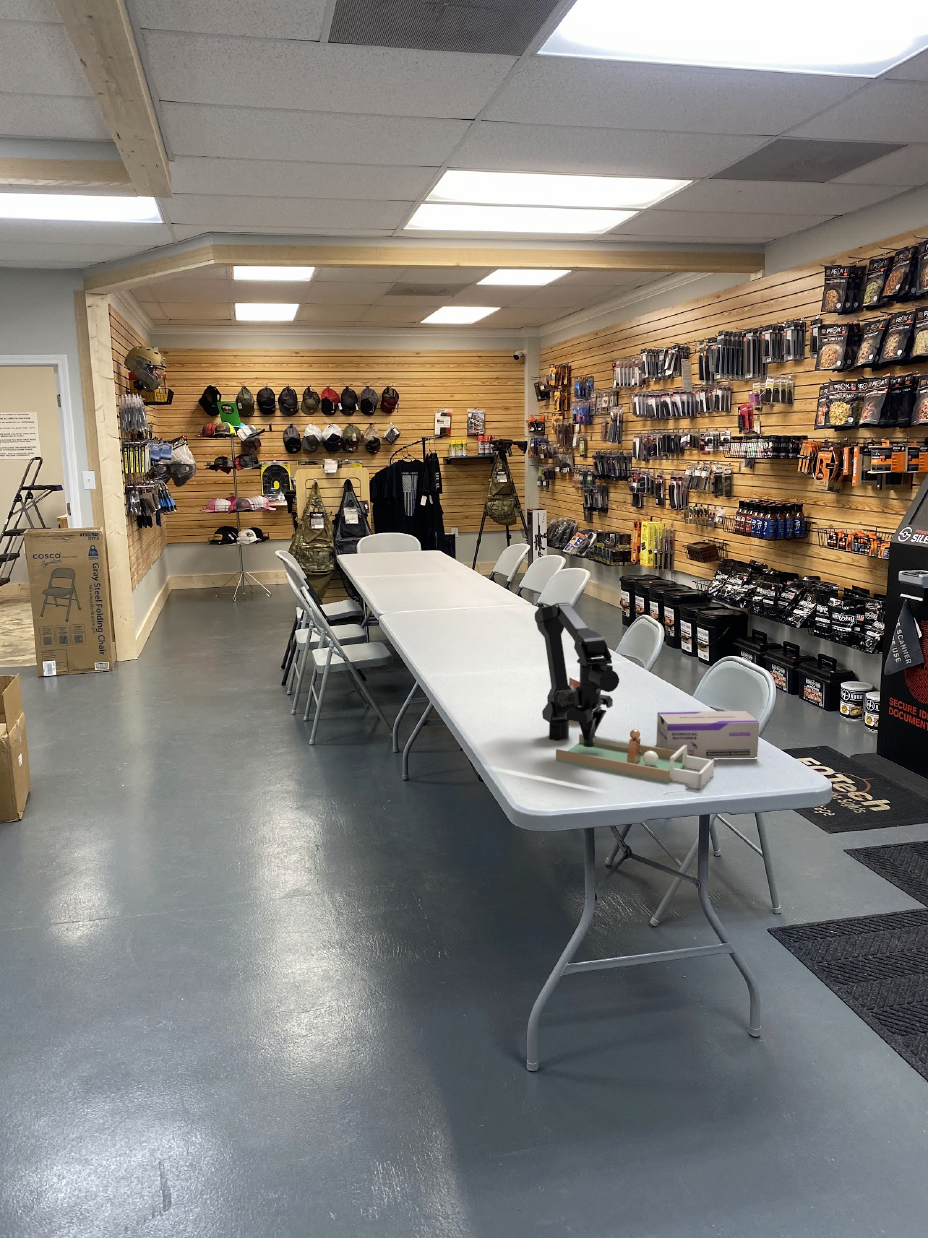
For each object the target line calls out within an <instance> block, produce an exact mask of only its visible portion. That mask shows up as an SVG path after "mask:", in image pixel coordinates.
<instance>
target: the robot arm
mask: <svg viewBox="0 0 928 1238" xmlns="http://www.w3.org/2000/svg"><path fill="white" fill-rule="evenodd" d="M534 621H535V623H536V626H537V627H536V628H537V631H539V633H540V634H541V635H542V637H543V638H544V642H545V643H544V644H545V649H546V657H547V665H548V670H549V671H548V672H549V677H550V678H549V679H550V680H549V681H550V686H551V687H550V690H549V692H548V694H547V697H546V698H547V703H546V705H545V706H544V707H543V709H542V712H541V713H542V719H544V720H545V721H547V722H548V723H549V724H548V725H549V727H548V729H549V731H548V735H549V737H548V738H549V740H551V741H563V740H568V739H569V737H570V721H572V722H578V725H579V727H580V730H581V734H583V738H584V740H588V739H589V737H590V734H591V732H592V729H593V726H594V723H595V733H596V732H597V730H598V729H599V726H600V724H601V722H602V720H603V719H604V716H605V714H606V713H607V710H605V709H602V705H604V706H606V708H607V709H610V708H611V707H613V705H614V704H613V703H614V701H613V698H612V697H611V696H610V695H607V694H601V692H606V693H611V692H613V691H615V690H616V689H617V688H618V686H619V684H620V677H619V674H618V673H617V671H615V670H614V668H613V667H614V666H613V665H611V664H613V661H612V655H611V653H610V650H609V648H608V647H609V646H608V645H607V642H606V639H605V638H604V637H603V636H602V635H601V634H600V633H599V632H597V631H594V630H593V629H590V628H588V626H587V625H586V623H585V622H584V621H583V620H582V618H581V617H580V616H579V615H578V613H577V612H576V611H575V609H574V607H573V604H572V603H570V602H557V603H555V604H552V605H549V606H540V607H538V608H537V610H536V611H535V612H534ZM564 629H565V630H566V631H567V633H568V634H569V636H570V637H571V638H572V639H573V641H574V647H573V649H574V651H575V653H576V655H577V656H578V659H577V660H576V663H577V664H579V676H580V683H579V686H577V687H576V690H572V689H571V688H570V686H569V681H568V680H569V679H568V675H567V668H566V659H565V652H564V646H563V639H562V634H563V632H564ZM579 706H581V707H579Z"/></svg>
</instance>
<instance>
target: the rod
mask: <svg viewBox="0 0 928 1238" xmlns="http://www.w3.org/2000/svg"><path fill="white" fill-rule="evenodd" d="M640 736H641V732H640V730H638V729H632V730H631V731H630V733H629V737H630V739H628V741H625V740H619V739H613V738H608V737H602V736H596V732H595V723H594V726H593V729H592V732H591V734H590V737H589V739H588V740H584V738H583V746H584V747H594V746H595V743H599V744H604V745H610V746H616V747H621V748H627V749H629V754H628V755H627V762H628V763H633V764H636V763H637V762H638V761H639V760H640V759H641V750H640V744H641V738H640Z"/></svg>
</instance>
